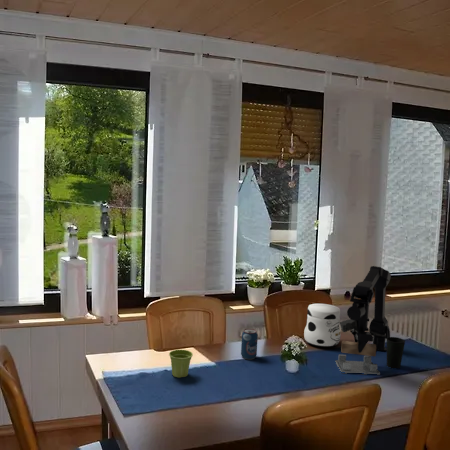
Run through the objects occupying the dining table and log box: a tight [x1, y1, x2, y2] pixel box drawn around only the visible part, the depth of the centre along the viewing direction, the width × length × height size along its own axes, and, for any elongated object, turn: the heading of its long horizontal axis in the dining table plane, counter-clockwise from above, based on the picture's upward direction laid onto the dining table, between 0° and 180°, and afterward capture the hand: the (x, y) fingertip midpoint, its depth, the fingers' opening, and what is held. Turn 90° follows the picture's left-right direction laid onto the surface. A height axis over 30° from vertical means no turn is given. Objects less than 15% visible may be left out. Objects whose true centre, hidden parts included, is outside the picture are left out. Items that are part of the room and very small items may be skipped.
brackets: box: [335, 354, 381, 376], centre depth 217 cm, size 12×16×4 cm
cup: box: [385, 336, 406, 369], centre depth 221 cm, size 8×8×12 cm
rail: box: [340, 340, 377, 357], centre depth 217 cm, size 14×4×4 cm, turn 78°
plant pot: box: [168, 349, 194, 379], centre depth 201 cm, size 9×9×9 cm
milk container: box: [303, 303, 342, 348], centre depth 246 cm, size 17×17×18 cm
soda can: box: [240, 328, 259, 361], centre depth 224 cm, size 7×7×12 cm
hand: (358, 350), depth 217 cm, fingers closed on rail, 4 cm apart
